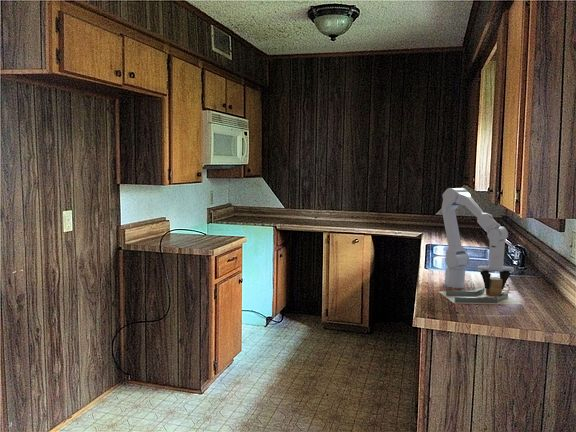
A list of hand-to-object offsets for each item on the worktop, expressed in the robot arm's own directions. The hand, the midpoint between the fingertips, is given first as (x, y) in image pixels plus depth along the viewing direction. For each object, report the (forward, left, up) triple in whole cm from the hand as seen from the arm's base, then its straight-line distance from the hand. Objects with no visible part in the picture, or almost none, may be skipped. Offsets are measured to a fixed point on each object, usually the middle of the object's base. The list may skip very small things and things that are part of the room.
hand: (494, 288), depth 207 cm
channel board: (+4, -8, -3) cm, 10 cm away
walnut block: (0, 0, -3) cm, 3 cm away
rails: (+4, -8, -3) cm, 10 cm away
